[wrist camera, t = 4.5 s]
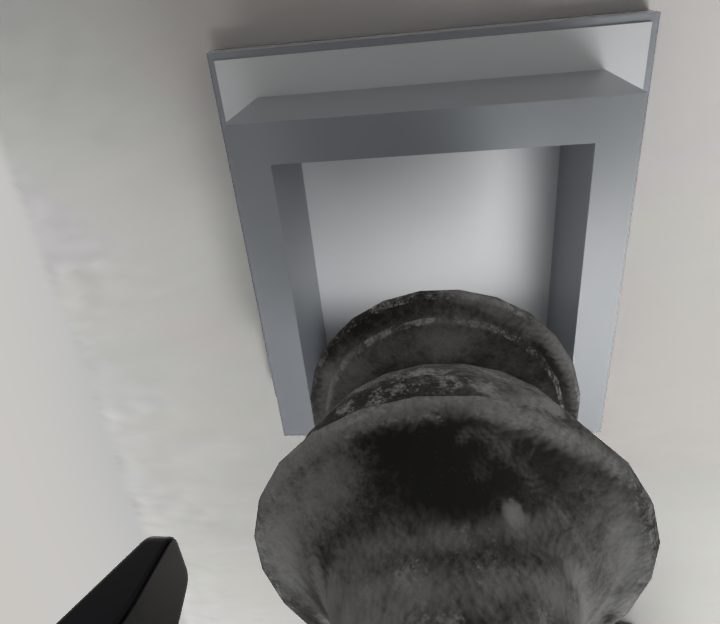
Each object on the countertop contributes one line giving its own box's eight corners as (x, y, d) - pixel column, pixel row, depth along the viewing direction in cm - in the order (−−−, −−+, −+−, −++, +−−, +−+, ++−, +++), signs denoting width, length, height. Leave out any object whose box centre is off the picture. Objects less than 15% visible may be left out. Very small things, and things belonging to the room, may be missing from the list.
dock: (600, 376, 22) (638, 463, 18) (280, 383, 23) (252, 465, 19) (649, 10, 16) (723, 23, 12) (215, 50, 17) (157, 73, 13)
